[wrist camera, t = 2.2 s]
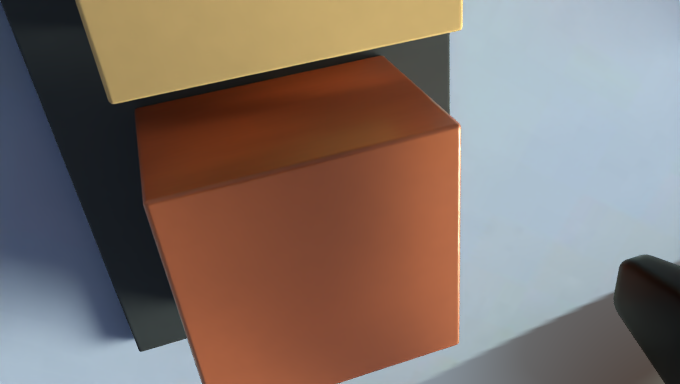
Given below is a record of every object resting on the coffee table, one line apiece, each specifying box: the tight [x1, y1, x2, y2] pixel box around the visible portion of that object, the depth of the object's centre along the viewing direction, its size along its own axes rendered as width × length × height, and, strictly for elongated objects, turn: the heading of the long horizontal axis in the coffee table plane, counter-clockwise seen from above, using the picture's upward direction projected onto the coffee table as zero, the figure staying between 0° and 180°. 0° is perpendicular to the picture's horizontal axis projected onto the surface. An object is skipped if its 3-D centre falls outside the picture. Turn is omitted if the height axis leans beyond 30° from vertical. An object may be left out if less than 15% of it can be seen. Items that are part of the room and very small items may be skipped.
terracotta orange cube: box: [134, 55, 461, 384], centre depth 12 cm, size 5×5×4 cm
